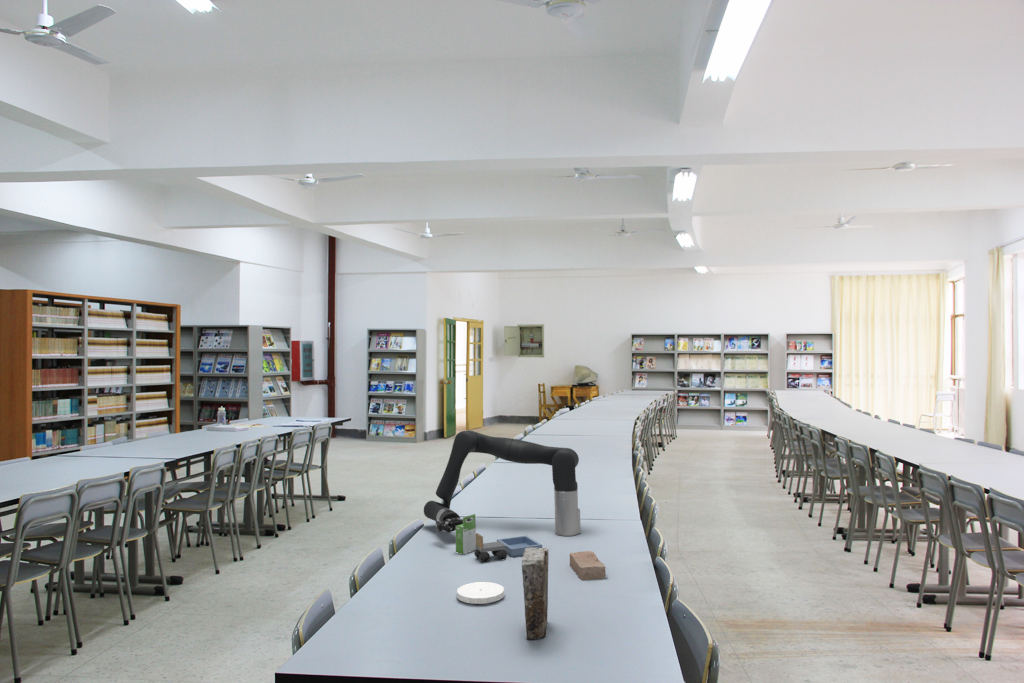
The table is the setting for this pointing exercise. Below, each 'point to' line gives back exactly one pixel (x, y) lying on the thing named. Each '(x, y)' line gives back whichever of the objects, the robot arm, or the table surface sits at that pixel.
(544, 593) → the stone block
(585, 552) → the brick
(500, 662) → the table surface
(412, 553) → the table surface
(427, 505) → the robot arm
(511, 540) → the tray
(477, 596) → the plastic lid
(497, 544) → the trolley
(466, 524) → the ink box
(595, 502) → the table surface
